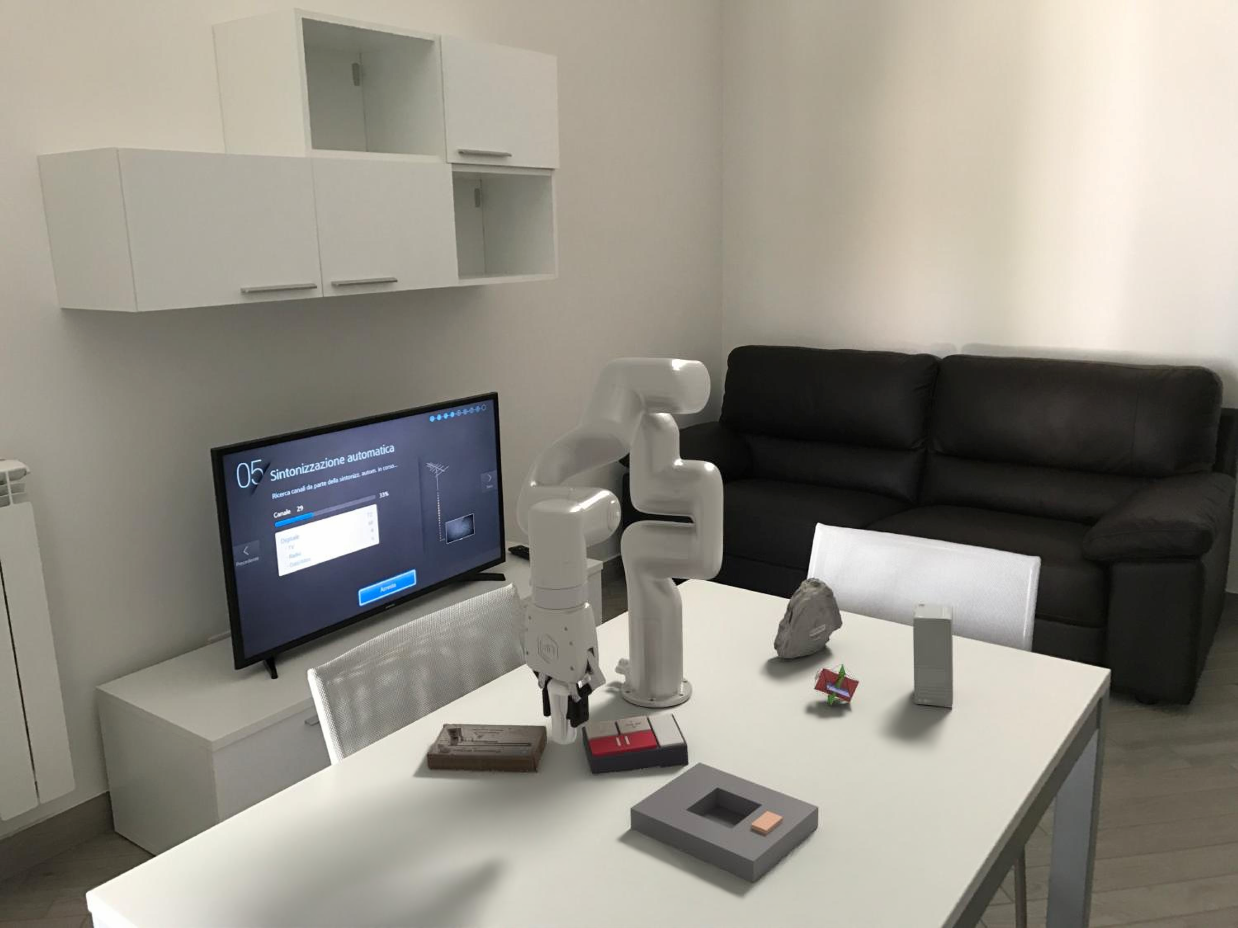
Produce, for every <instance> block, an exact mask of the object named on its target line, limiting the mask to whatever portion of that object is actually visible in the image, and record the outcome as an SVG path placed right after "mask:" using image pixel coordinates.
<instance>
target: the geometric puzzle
mask: <svg viewBox="0 0 1238 928" xmlns="http://www.w3.org/2000/svg"><path fill="white" fill-rule="evenodd" d="M840 666H841V667H840ZM830 667H831V669H829V668H825V667H822V668H819V669H818V671H817V672H816V674H815V675H814V683H815V684H813V686H814V688H813V690H815V691H816V692H817V694H819V693H821V694H822V695H824V696H826V697H827V698H828V702H826V701H825V703H827V704H828V705H829V708H832V707H836V706H838V705H839V706H840V705H842V704H841V703H842V702H845V703H843V705H844V704H846V703H847V704H848V703H851V701H852V699H853V697H854V694H855V693H856V690H857V688H858V686H859V683H860V680H858V679H855V677H853V676H850V675H848V674H847V673H846V670H845V665H844V663H841V664H838V665H836V666H834V667H833V666H830ZM832 667H833V668H832ZM837 667H840V669H839V671H836V670H834V669H835V668H837ZM847 670H848V672H849V673H851V671H850V670H849V669H847ZM851 674H852V673H851ZM819 695H820V694H819ZM834 700H839V702H837V703H835V704H834V705H833V702H834Z"/></svg>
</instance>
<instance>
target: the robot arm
mask: <svg viewBox="0 0 1238 928" xmlns="http://www.w3.org/2000/svg"><path fill="white" fill-rule="evenodd" d="M711 387H712V385H711V377H710V374H709V372H708V369H707V367H706V366H705V364H704V363H703V362H702V361H699V360H696V359H695V360H692V359H691V360H690V359H689V360H688V359H681V358H672V357H671V358H669V357H619V358H614V359H612V360H610V361H607V362H606V363H604V365H603V366H602V367H601V369H600V370H599V373H598V375H597V377H596V380H595V383H594V385H593V388H592V391H591V393H590V395H589V398H588V399H587V400H588V401H587V403H586V406H585V407H584V410H583V414H582V417H581V418H580V421H579V424H578V426H576V427H575V428H574V429H571V430H570V431H568V432H567V433H565V434H564V435H562V436H561V437H559V438H558V439H557V440H555V441H554V442H552V443H551V444H550V445H548V447H546V448H545V449H544V450H543V451H541V452H540V453H539V454H538V455H537V457H536V458H535V460H533V462H532V464H531V466H530V468H529V470H528V472H527V475H526V476H525V480H524V481H523V483H522V487H521V490H520V493H519V496H518V500H517V503H516V504H517V505H516V520H517V524H518V526H519V528H520V529H521V531H522V532H523V533H524V534H526V536H528V548H529V549H528V550H529V566H530V578H529V580H528V585H529V586H530V588H531V598H530V599H528V603H527V607H526V612H525V613H526V614H525V622H524V655H523V656H524V657H523V659H524V661H525V664H526V666H527V667H528V668H529V669H530V670H532V673H533V674H534V676H535V678H536V679H537V686H538V687H539V689H540V690H541V699H542V713H543V717H545V718H549V717H551V710H550V704H549V697H548V689H547V685H548V683H549V682H550V680H551V679H552V678H555V679H558V680H561V681H564V682H567V683H569V685H570V689H571V694H572V698H573V699H571V700H570V701H569V711H570V725H571V727H573V728H576V727H577V728H578V727H579V726H581V725H583V724H585V723H586V722H588V721H589V720H590V703H589V700H590V699H589V696H591V695H592V694H593V692H594V691H595V690H597V689H598V688H599V687H601V686H604V685H605V684H606V683H607V681H606V678H605V675H604V674H603V672H602V670H601V668H600V653H599V641H598V633H597V626H596V621H595V620H596V619H595V615H594V611H593V607H592V604H591V603H590V601H589V583H588V582H589V581H588V580H589V579H588V561H587V560H588V559H587V556H588V555H587V548H589V547H590V546H593V545H596V544H599V543H602V542H604V541H606V540H608V539H609V538H610V537H612V535H613V534H614V533H615V531H616V530H617V528H618V527H619V525H620V522H621V517H622V509H621V503H620V500H619V499H618V497H617V496H616V494H614V493H613V491H611V490H609V489H606V488H602V487H597V486H595V487H593V486H578V485H563V483H565V481H567V480H570V478H572V477H575V476H576V475H579V474H582V473H584V472H587V471H592V470H595V469H599V468H601V467H604V466H606V465H610V464H612V463H614V462H616V461H619V460H622V459H623V458H624V457H626V456H627V455H628V454H629V493H630V495H629V496H630V501H631V504H632V506H633V507H634V509H636V510H637V511H638V512H641V513H645V514H653V515H664V516H680V517H681V516H682V517H689V518H691V520H692V522H693V523H691V522H688V523H687V522H675V521H666V520H665V521H664V520H640V521H639V520H638V521H636V522H633V523H632V524H630V525H629V526H627V527H626V529H625V530H624V531H623V533H622V535H621V539H620V552H621V559H622V563H623V564H622V565H623V567H624V572H625V580H626V589H627V590H626V591H627V619H628V622H627V623H628V657H629V658H628V659H627V658H624V657H621V658H620V659H619V660H618V662H617V663H618V664H617V665H616V666H615V669H614V670H615V671H614V672H615V673H616V674H619V675H623V676H624V679H625V680H624V682H623V683H622V684H621V688H620V689H621V696H622V697H623V699H625V700H626V701H627V702H629V703H631V704H634V705H636V706H639V707H644V708H645V707H647V708H666V707H672V706H677V705H679V704H682V703H683V702H686V701H687V700H688V699H690V697H691V696H692V693H693V685H692V684H691V682H690V681H689V680H688V679H686V678H685V677H684V648H683V647H684V646H683V645H684V643H683V642H684V641H683V638H684V637H683V627H684V626H683V598H682V596H681V592H680V590H679V588H678V586H677V584H676V583H675V582H674V580H673V579H672V578H674V579H683V580H684V579H685V580H698V581H699V580H700V581H702V580H703V581H706V580H707V581H708V580H711V579H713V578H715V577H716V576H717V575H718V574H719V572H720V570H721V568H722V563H723V552H724V551H723V550H724V549H723V548H724V544H723V543H724V541H723V540H724V484H723V479H722V474H721V471H720V470H719V468H718V467H717V466H716V465H715V464H714V463H712V462H709V461H706V460H705V461H704V460H695V459H682V458H681V456H680V455H681V454H680V430H679V426H678V424H677V423H676V421H675V419H674V417H673V416H672V414H673V415H674V414H677V415H688V414H689V415H690V414H697V413H699V412H701V411H702V410H703V409H704V408H705V406H706V405H707V403H708V400H709V398H710V394H711ZM578 682H580V684H582V685H581V688H580V689H579V684H578Z"/></svg>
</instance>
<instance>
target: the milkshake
mask: <svg viewBox="0 0 1238 928" xmlns="http://www.w3.org/2000/svg"><path fill="white" fill-rule="evenodd" d="M578 684H579V689H580V688H581V687H582V683H581V681H579V682H578ZM547 689H548V697H549V704H550V710H551V716H550V719H551V728H552V730H551V731H552V741H553V742H554V743H555V744H558V745H565V746H566V745H569V744H573V743H574V742H575V741H577V732H578V727H576V728H573V727H571V725H570V711H569V701H570V700H571V699H573V698H572V694H571V689H570V685H569V683H567V682H564V681H561V680H558V679H555V678H552V679H551V680H550V682H549V683H548V685H547Z"/></svg>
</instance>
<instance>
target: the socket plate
mask: <svg viewBox="0 0 1238 928" xmlns="http://www.w3.org/2000/svg"><path fill="white" fill-rule="evenodd" d="M629 809H630V810H629V811H630V828H631V829H633V830H634V831H637V832H640V833H641V834H644V835H647V836H648V837H651V838H653V839H655V840H657V841H659V842H662V843H664V844H666V845H668V846H669V847H670V846H671V847H673V848H675V849H678V850H680V851H681V852H684V853H687V854H689V855H691V856H693V857H696V858H697V859H700V860H701V861H704V862H707V863H708V864H710V865H713V866H716V867H717V868H720V869H722V870H723V871H727V872H728V873H731V874H733V875H736V876H738V877H740V878H742V879H745V880H746V881H749V882H751V883H755V882H756V881H758V879H760V878H761V877H762V876H763V875H764V874H766V873H767V872H768V871H769V870H770V869H771V868H773V866H774V865H776V864H777V863H778V862H779V861H781V860H782V859H783V858H784V857H785V856H786V855H787V854H788V853H790V851H792V850H793V849H794V848H796V846H798V845H799V844H800V843H801V842H802V841H804V840H805V839H806V838H807V837H808V836H809V835H810V834H811V833H813V832H815V830H816V829H818V827H819V806H817V805H814V804H813V803H809V802H806V801H804V800H801V799H798V798H795V797H793V796H790V795H788V794H785V793H783V792H780V791H777V790H774V789H771V788H769V787H766V786H764V785H761V784H759V783H756V782H753V781H750V780H747V779H745V778H743V777H740V776H737V775H735V774H732V773H730V772H727V771H723V770H722V769H718V768H715V767H714V766H710V765H707V764H705V763H703V762H698V763H696V764H695V765H693V766H691V767H690V768H688V769H687V770H685V771H683V772H682V773H681V774H680V775H678V776H677V777H675V778H674V779H672V780H671V781H668V783H666V784H665V785H663V786H661V787H660V788H658V789H657V790H655V791H654V792H652V793H651V794H649V795H648V796H646V797H645V798H643V799H642V800H640V801H639V802H637V803H636V804H634V805H633V806H632V807H630V808H629Z"/></svg>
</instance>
